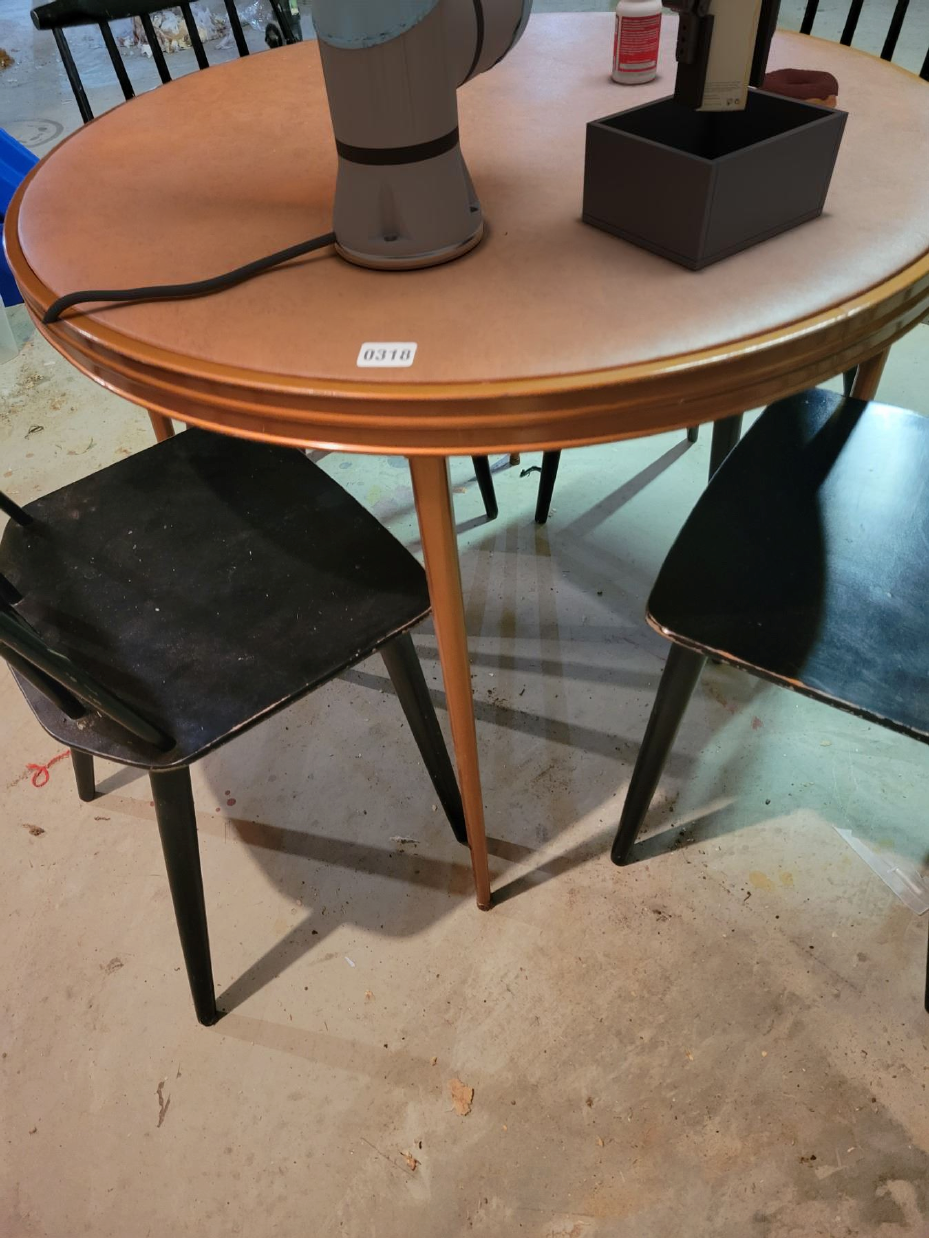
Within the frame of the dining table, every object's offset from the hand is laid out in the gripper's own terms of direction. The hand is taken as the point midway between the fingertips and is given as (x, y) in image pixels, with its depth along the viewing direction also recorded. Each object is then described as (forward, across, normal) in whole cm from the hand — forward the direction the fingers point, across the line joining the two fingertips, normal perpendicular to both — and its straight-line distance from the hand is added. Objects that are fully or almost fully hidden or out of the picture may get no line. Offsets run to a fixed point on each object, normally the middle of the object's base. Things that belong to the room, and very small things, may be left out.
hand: (718, 94), depth 70 cm
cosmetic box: (+1, 0, 0) cm, 1 cm away
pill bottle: (+11, -28, -39) cm, 49 cm away
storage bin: (+11, 0, 0) cm, 11 cm away
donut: (+11, -31, -14) cm, 36 cm away
